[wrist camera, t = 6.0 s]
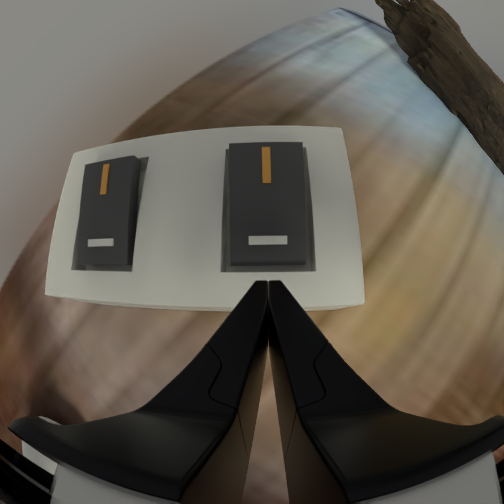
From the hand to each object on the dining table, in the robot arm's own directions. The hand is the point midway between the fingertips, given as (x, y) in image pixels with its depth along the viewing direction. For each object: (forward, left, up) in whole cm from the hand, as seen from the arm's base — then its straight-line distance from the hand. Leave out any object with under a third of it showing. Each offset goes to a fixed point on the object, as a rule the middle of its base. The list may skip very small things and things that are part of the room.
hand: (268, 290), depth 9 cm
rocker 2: (+3, +4, -3) cm, 6 cm away
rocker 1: (-4, +9, -3) cm, 11 cm away
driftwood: (+32, -9, -11) cm, 35 cm away
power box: (+1, +8, -10) cm, 13 cm away
